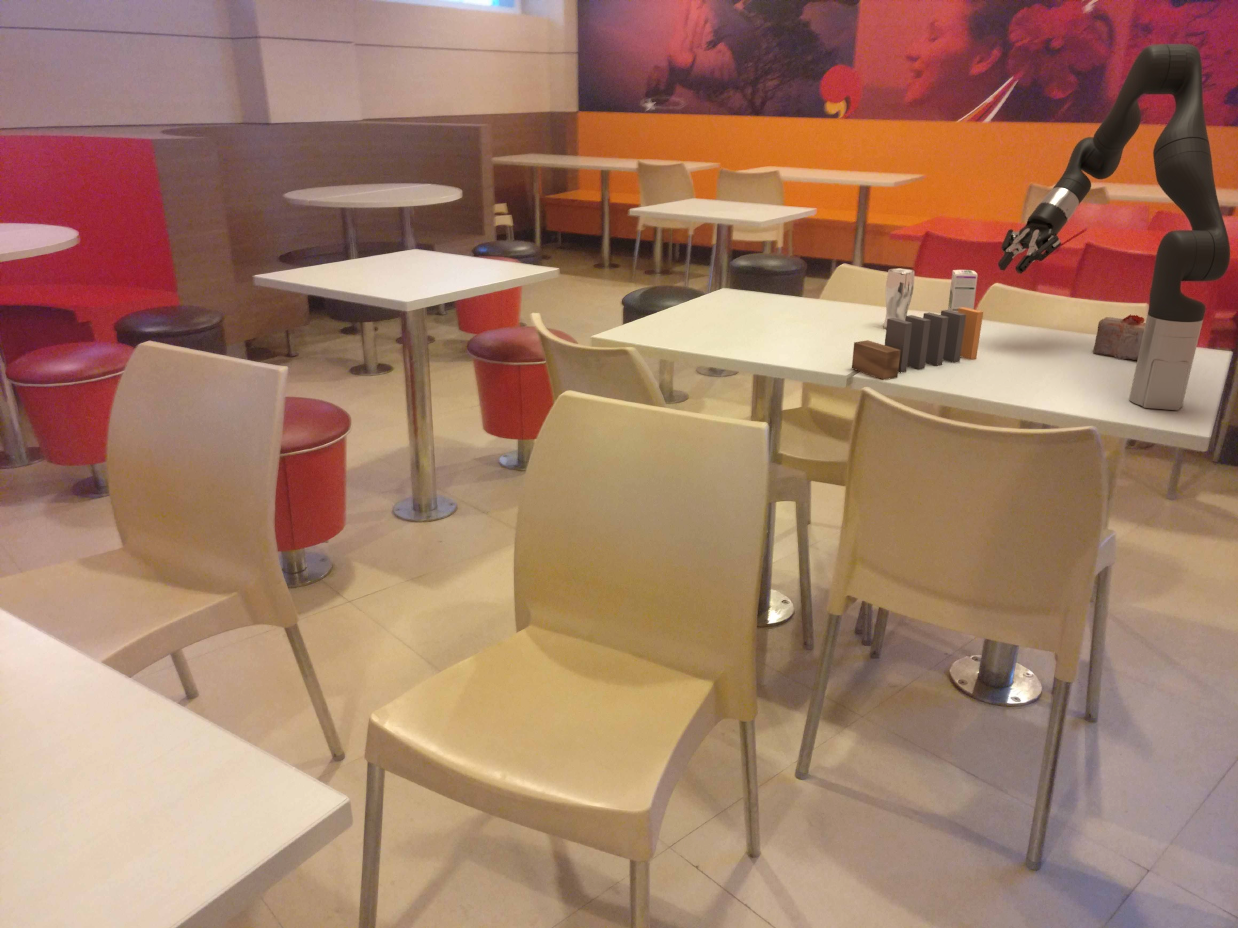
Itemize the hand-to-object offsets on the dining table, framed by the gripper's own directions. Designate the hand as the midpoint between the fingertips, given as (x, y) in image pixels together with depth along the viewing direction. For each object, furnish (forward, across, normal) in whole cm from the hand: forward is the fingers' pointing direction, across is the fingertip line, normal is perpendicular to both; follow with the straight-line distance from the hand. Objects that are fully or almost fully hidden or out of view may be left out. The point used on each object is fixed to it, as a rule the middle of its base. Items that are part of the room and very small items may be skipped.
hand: (1009, 269), depth 208 cm
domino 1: (+37, 0, -10) cm, 38 cm away
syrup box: (+6, -22, +22) cm, 31 cm away
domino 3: (+29, 0, -2) cm, 29 cm away
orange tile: (+21, 0, +6) cm, 22 cm away
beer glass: (+17, -29, +11) cm, 35 cm away
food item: (-1, +18, +29) cm, 35 cm away
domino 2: (+33, 0, -6) cm, 34 cm away
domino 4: (+25, 0, +2) cm, 25 cm away
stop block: (+41, 0, -14) cm, 44 cm away
